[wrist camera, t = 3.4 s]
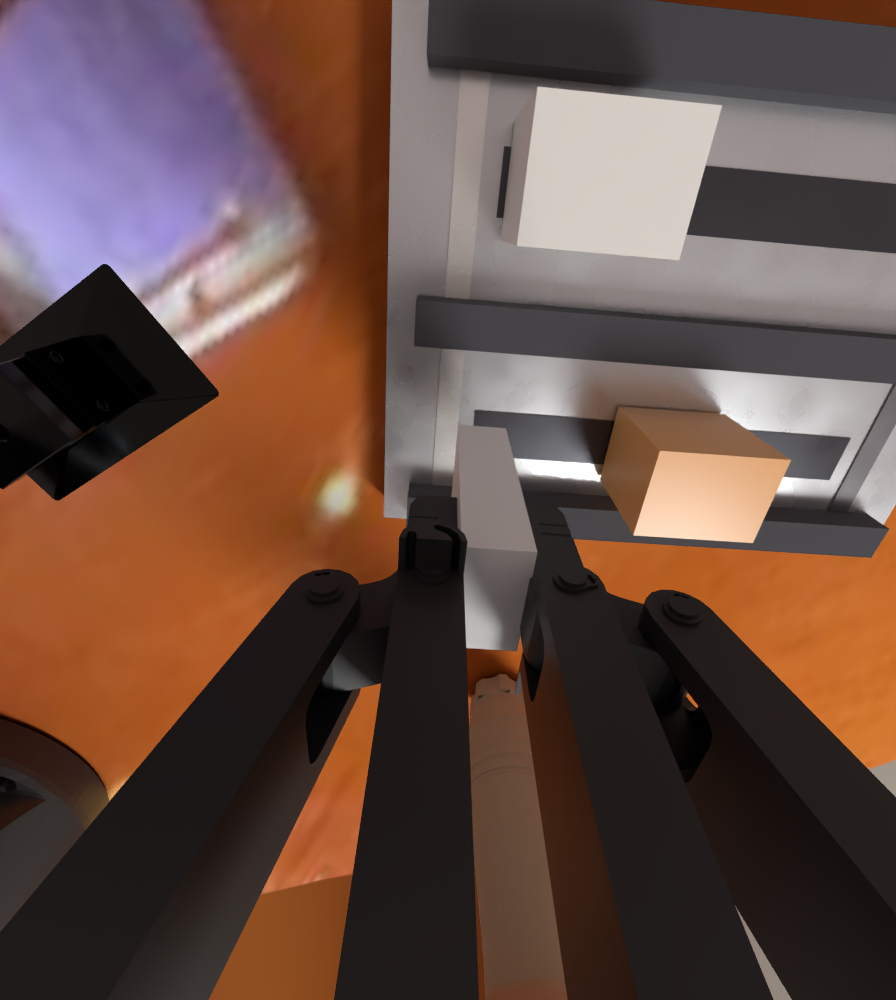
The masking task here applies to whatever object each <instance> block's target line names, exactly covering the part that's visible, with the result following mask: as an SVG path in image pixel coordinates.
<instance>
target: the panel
mask: <svg viewBox="0 0 896 1000" xmlns="http://www.w3.org/2000/svg"><path fill="white" fill-rule="evenodd" d="M428 9H429V0H392V46H391V108H390V169H389V230H388V292H387V353H386V414H385V476H384V517H387V518H403V519H407V497H408V490H409V483H421V484H432V485H439V486H452V485H453V474H454V463H455V453H456V442H457V431H458V425H469V426H482V427H495V428H506V431H507V435H508V438H509V442H510V446H511V450H512V454H513V458H514V462H515V466H516V470H517V474H518V478H519V482H520V486H521V490H526V491H541V492H556V493H571V494H586V495H601V496H609V494H608V492H607V491H606V489H605V487H604V486H603V484H602V482H601V481H600V476H601V472H602V469H603V465H604V461H605V457H606V453H607V449H608V445H609V441H610V438H611V434H612V430H613V426H614V422H615V418H616V414H617V410H618V407H619V406H620V407H634V408H647V409H661V410H674V411H687V412H701V413H714V414H725V415H727V416H728V417H730V418H731V419H733V420H734V421H735V422H737V423H738V424H740V425H741V426H743V427H744V428H746V429H747V430H748V431H750V432H751V433H753V434H754V435H756V436H757V437H759V438H760V439H761V440H763V441H764V442H766V443H767V444H769V445H770V446H772V447H773V448H774V449H776V450H777V451H779V452H780V453H782V454H783V455H785V456H786V457H787V458H789V459H790V460H791V462H790V464H789V466H788V468H787V470H786V472H785V475H784V477H783V479H782V481H781V483H780V485H779V488H778V490H777V492H776V494H775V496H774V498H773V501H772V503H771V505H770V507H780V508H795V509H810V510H825V511H828V512H843V513H847V512H855V513H867V514H868V515H870V516H871V517H872V518H874V519H875V520H877V521H878V522H880V523H881V524H883V525H884V523H885V521H886V520H887V518H888V516H889V515H890V513H891V511H892V510H893V508H894V506H895V505H896V384H887V383H874V382H861V381H849V380H836V379H823V378H810V377H798V376H785V375H772V374H760V373H747V372H734V371H721V370H709V369H696V368H683V367H671V366H658V365H645V364H632V363H620V362H607V361H594V360H582V359H569V358H556V357H543V356H531V355H518V354H505V353H493V352H480V351H467V350H454V349H442V348H429V347H416V346H414V334H415V311H416V299H417V296H418V295H425V296H437V297H445V298H457V299H473V300H485V301H497V302H509V303H521V304H533V305H545V306H557V307H569V308H581V309H593V310H605V311H617V312H629V313H641V314H653V315H665V316H677V317H689V318H701V319H713V320H725V321H737V322H749V323H761V324H774V325H786V326H798V327H810V328H822V329H834V330H846V331H858V332H870V333H882V334H894V335H896V115H895V114H886V113H876V112H866V111H856V110H847V109H837V108H827V107H818V106H808V105H798V104H788V103H779V102H769V101H759V100H749V99H740V98H730V97H720V96H711V95H701V94H691V93H681V92H672V91H662V90H652V89H643V88H633V87H623V86H613V85H604V84H594V83H584V82H574V81H565V80H555V79H545V78H536V77H526V76H516V75H506V74H497V73H490V72H484V71H474V70H465V69H461V70H458V69H448V68H438V67H429V66H428V61H427V32H428ZM537 87H547V88H557V89H566V90H576V91H586V92H596V93H606V94H615V95H625V96H635V97H645V98H655V99H664V100H674V101H684V102H694V103H704V104H713V105H722V108H721V112H720V115H719V119H718V122H717V126H716V130H715V133H714V137H713V140H712V144H711V148H710V151H709V155H708V158H707V162H706V166H705V169H704V173H703V176H702V180H701V183H700V187H699V191H698V194H697V198H696V201H695V205H694V209H693V212H692V216H691V219H690V223H689V227H688V230H687V234H686V237H685V241H684V245H683V248H682V252H681V255H680V259H679V260H671V259H659V258H648V257H636V256H625V255H614V254H602V253H591V252H580V251H568V250H557V249H546V248H534V247H523V246H516V245H513V244H510V243H507V242H504V241H501V233H502V224H503V215H504V207H505V198H506V189H507V181H508V172H509V164H510V155H511V146H512V138H513V129H514V120H515V119H516V117H517V116H518V114H519V113H520V112H521V110H522V109H523V107H524V106H525V104H526V103H527V101H528V100H529V98H530V97H531V96H532V94H533V93H534V91H535V90H536V88H537Z"/></svg>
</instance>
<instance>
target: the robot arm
mask: <svg viewBox="0 0 896 1000" xmlns="http://www.w3.org/2000/svg"><path fill="white" fill-rule="evenodd" d="M520 634H521V641H522V647H523V653H522V658H521V662H520V667H519V672H518V676H517V681H516V686H515V694H514V695H520V691H521V686H522V690H523V697H524V703H525V710H526V717H527V724H528V731H529V738H530V745H531V752H532V759H533V765H534V772H535V779H536V786H537V793H538V800H539V807H540V814H541V820H542V827H543V834H544V841H545V848H546V855H547V862H548V869H549V876H550V882H551V889H552V896H553V903H554V910H555V917H556V924H557V931H558V938H559V944H560V951H561V958H562V965H563V972H564V979H565V986H566V993H567V999H568V1000H773V998H772V995H771V993H770V990H769V988H768V985H767V983H766V980H765V978H764V976H763V973H762V971H761V968H760V966H759V963H758V961H757V958H756V956H755V953H754V951H753V949H752V946H751V944H750V941H749V939H748V936H747V934H746V931H745V929H744V926H743V924H742V922H741V919H740V917H739V914H738V912H737V910H736V907H737V909H738V911H739V912H740V914H741V916H742V917H743V919H744V921H745V922H746V924H747V926H748V927H749V929H750V930H751V932H752V934H753V936H754V937H755V939H756V941H757V942H758V944H759V946H760V947H761V949H762V950H763V952H764V954H765V955H766V957H767V959H768V961H769V962H770V964H771V966H772V967H773V969H774V971H775V972H776V974H777V976H778V977H779V979H780V981H781V982H782V984H783V986H784V987H785V989H786V990H787V992H788V994H789V995H790V997H791V999H792V1000H896V797H895V796H894V795H893V794H892V793H891V792H890V791H889V790H888V789H887V788H886V787H885V786H884V785H883V784H882V783H881V782H880V781H879V780H878V779H877V778H876V777H875V776H874V775H873V774H872V773H871V772H870V771H869V770H868V769H867V768H866V767H865V766H864V765H863V764H862V763H861V761H860V760H859V759H858V758H857V757H856V756H855V755H854V754H853V753H852V752H851V751H850V750H849V749H848V748H847V747H846V746H845V745H844V744H843V743H842V742H841V741H840V740H839V739H838V738H837V737H836V736H835V735H834V734H833V733H832V732H831V731H830V730H829V729H828V728H827V727H826V726H825V725H824V724H823V723H822V722H821V721H820V720H819V719H818V718H817V717H816V716H815V715H814V714H813V713H812V712H811V711H810V710H809V709H808V708H807V707H806V706H805V704H804V703H803V702H802V701H801V700H800V699H799V698H798V697H797V696H796V695H795V694H794V693H793V692H792V691H791V690H790V689H789V688H788V687H787V686H786V685H785V684H784V683H783V682H782V681H781V680H780V679H779V678H778V677H777V676H776V675H775V674H774V673H773V672H772V671H771V670H770V669H769V668H768V667H767V666H766V665H765V664H764V663H763V662H762V661H761V660H760V659H759V658H758V657H757V656H756V655H755V654H754V653H753V652H752V651H751V650H750V649H749V647H748V646H747V645H746V644H745V643H744V642H743V641H742V640H741V639H740V638H739V637H738V636H737V635H736V634H735V633H734V632H733V631H732V630H731V629H730V628H729V627H728V626H727V625H726V624H725V623H724V622H723V621H722V620H721V619H720V618H719V617H718V616H717V615H716V614H715V613H714V612H713V611H712V610H711V609H710V608H709V607H708V606H706V605H705V604H704V603H703V602H701V601H700V600H698V599H696V598H694V597H692V596H690V595H688V594H685V593H682V592H678V591H674V590H659V591H655V592H652V593H651V594H650V595H649V596H648V597H647V598H646V600H645V603H644V604H641V603H637V602H634V601H630V600H627V599H623V598H620V597H617V596H615V595H612V594H610V593H608V592H607V591H606V589H605V586H604V584H603V583H602V581H601V580H600V578H599V577H598V576H597V575H596V574H594V573H593V572H592V571H590V570H589V569H587V568H584V567H583V564H582V561H581V559H580V556H579V553H578V551H577V548H576V545H575V543H574V540H573V537H571V532H570V529H569V528H568V524H567V521H566V519H565V516H564V514H563V513H562V512H561V511H560V510H559V509H558V508H557V507H556V506H555V505H554V504H553V503H546V502H532V501H524V497H523V493H522V490H521V486H520V482H519V478H518V474H517V470H516V466H515V462H514V458H513V454H512V450H511V446H510V442H509V438H508V435H507V431H506V428H495V427H482V426H469V425H458V431H457V442H456V453H455V463H454V474H453V485H452V495H451V497H443V496H430V495H419V496H418V497H417V498H416V499H415V500H414V501H413V502H412V503H411V504H410V510H409V518H408V524H407V528H405V529H404V530H403V531H402V533H401V535H400V537H399V560H398V570H397V571H396V572H395V573H394V574H393V575H391V576H390V577H388V578H386V579H383V580H381V581H377V582H373V583H368V584H362V585H359V583H358V581H357V580H356V579H355V578H354V577H353V576H352V575H351V574H348V573H346V572H343V571H341V570H333V569H323V570H316V571H312V572H309V573H307V574H305V575H302V576H301V577H299V578H298V579H297V580H296V581H294V582H293V583H292V584H291V585H290V587H289V588H288V589H287V590H286V591H285V593H284V594H283V595H282V596H281V597H280V599H279V600H278V601H277V602H276V603H275V605H274V606H273V607H272V608H271V609H270V611H269V612H268V613H267V614H266V615H265V616H264V618H263V619H262V620H261V621H260V622H259V624H258V625H257V626H256V627H255V628H254V630H253V631H252V632H251V633H250V634H249V636H248V637H247V638H246V639H245V640H244V642H243V643H242V644H241V645H240V646H239V648H238V649H237V650H236V651H235V652H234V653H233V655H232V656H231V657H230V658H229V659H228V661H227V662H226V663H225V664H224V665H223V667H222V668H221V669H220V670H219V671H218V673H217V674H216V675H215V676H214V677H213V679H212V680H211V681H210V682H209V683H208V685H207V686H206V687H205V688H204V689H203V691H202V692H201V693H200V694H199V695H198V696H197V698H196V699H195V700H194V701H193V702H192V704H191V705H190V706H189V707H188V708H187V710H186V711H185V712H184V713H183V714H182V716H181V717H180V718H179V719H178V720H177V722H176V723H175V724H174V725H173V726H172V728H171V729H170V730H169V731H168V732H167V733H166V735H165V736H164V737H163V738H162V739H161V741H160V742H159V743H158V744H157V745H156V747H155V748H154V749H153V750H152V751H151V753H150V754H149V755H148V756H147V757H146V759H145V760H144V761H143V762H142V763H141V765H140V766H139V767H138V768H137V769H136V770H135V772H134V773H133V774H132V775H131V776H130V778H129V779H128V780H127V781H126V782H125V784H124V785H123V786H122V787H121V788H120V790H119V791H118V792H117V793H116V794H115V796H114V797H113V798H112V799H111V800H110V802H109V799H108V795H107V792H106V790H105V788H104V786H103V784H102V782H101V781H100V779H99V778H98V777H97V775H96V774H95V773H94V772H93V771H92V770H91V768H90V767H89V766H87V765H86V764H85V763H84V762H83V761H82V760H81V759H80V758H78V757H77V756H76V755H74V754H73V753H72V752H70V751H69V750H67V749H66V748H64V747H63V746H61V745H59V744H58V743H56V742H54V741H53V740H51V739H49V738H47V737H45V736H43V735H41V734H39V733H37V732H35V731H32V730H30V729H28V728H25V727H23V726H20V725H17V724H15V723H12V722H9V721H6V720H3V719H0V1000H208V999H209V997H210V995H211V993H212V991H213V989H214V987H215V985H216V983H217V981H218V979H219V977H220V975H221V973H222V971H223V969H224V967H225V965H226V963H227V961H228V959H229V957H230V955H231V953H232V951H233V949H234V947H235V945H236V943H237V941H238V939H239V937H240V934H241V933H242V931H243V929H244V926H245V924H246V922H247V920H248V918H249V916H250V914H251V912H252V910H253V908H254V906H255V904H256V902H257V900H258V898H259V896H260V894H261V892H262V890H263V888H264V886H265V884H266V882H267V880H268V878H269V876H270V874H271V872H272V870H273V868H274V866H275V864H276V862H277V860H278V858H279V856H280V854H281V851H282V849H283V847H284V845H285V843H286V841H287V839H288V837H289V835H290V833H291V831H292V829H293V827H294V825H295V823H296V821H297V819H298V817H299V815H300V813H301V811H302V809H303V807H304V805H305V803H306V801H307V799H308V797H309V795H310V793H311V791H312V789H313V787H314V785H315V783H316V781H317V779H318V776H319V774H320V772H321V770H322V768H323V766H324V764H325V762H326V760H327V758H328V756H329V754H330V752H331V750H332V748H333V746H334V744H335V742H336V740H337V738H338V736H339V734H340V732H341V730H342V728H343V726H344V724H345V722H346V720H347V718H348V716H349V714H350V712H351V710H352V708H353V706H354V704H355V702H356V699H357V697H358V695H359V693H360V689H361V688H362V687H367V686H371V685H375V684H380V683H381V689H380V696H379V702H378V709H377V716H376V722H375V729H374V736H373V742H372V749H371V756H370V763H369V769H368V776H367V783H366V789H365V796H364V803H363V809H362V816H361V823H360V829H359V836H358V843H357V850H356V856H355V863H354V870H353V876H352V883H351V890H350V897H349V903H348V910H347V917H346V923H345V930H344V937H343V943H342V950H341V957H340V963H339V971H338V977H337V984H336V990H335V997H334V1000H479V992H478V963H477V935H476V908H475V879H474V851H473V823H472V795H471V767H470V739H469V711H468V683H467V655H466V648H474V649H490V650H506V651H517V649H518V644H519V639H520ZM687 693H689V694H690V696H691V697H692V698H693V700H694V701H695V702H696V703H697V705H698V708H696V707H695V706H694V705H693V704H692V703H691V702H690V701H689V700H688V698H687V697H686V695H687ZM735 906H736V907H735Z"/></svg>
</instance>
